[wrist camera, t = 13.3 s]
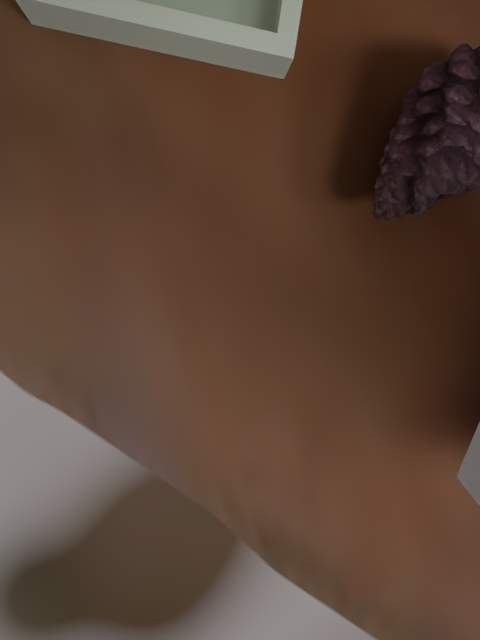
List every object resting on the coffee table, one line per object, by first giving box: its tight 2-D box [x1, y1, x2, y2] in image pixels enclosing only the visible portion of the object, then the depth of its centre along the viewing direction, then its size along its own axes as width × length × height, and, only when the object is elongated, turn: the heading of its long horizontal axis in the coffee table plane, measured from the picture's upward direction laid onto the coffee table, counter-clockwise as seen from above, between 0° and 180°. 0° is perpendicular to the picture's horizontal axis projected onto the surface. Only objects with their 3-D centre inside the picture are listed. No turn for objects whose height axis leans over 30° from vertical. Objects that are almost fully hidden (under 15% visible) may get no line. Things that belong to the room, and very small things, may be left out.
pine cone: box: [372, 44, 480, 220], centre depth 32 cm, size 18×10×10 cm, turn 134°
